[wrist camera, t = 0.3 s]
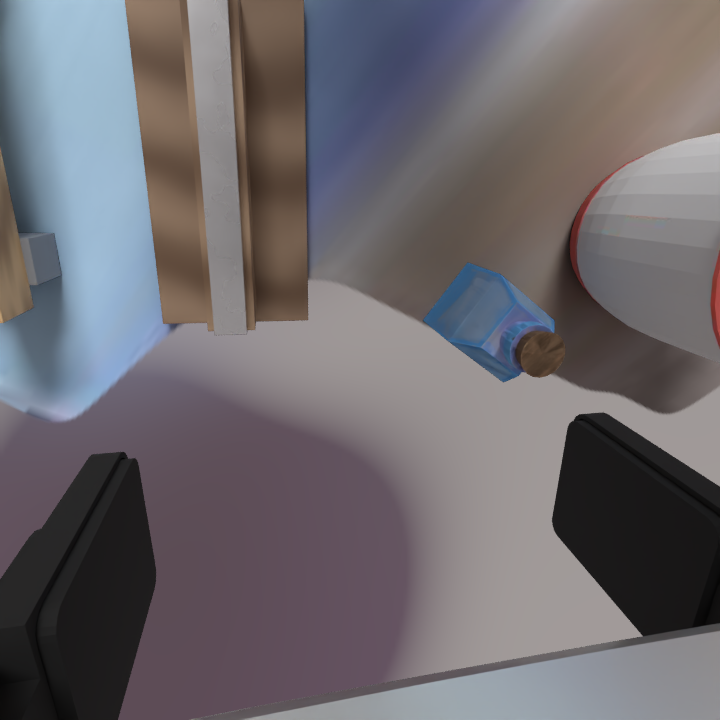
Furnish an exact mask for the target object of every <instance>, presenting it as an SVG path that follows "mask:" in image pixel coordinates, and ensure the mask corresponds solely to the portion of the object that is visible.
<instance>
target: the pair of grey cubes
mask: <svg viewBox="0 0 720 720" xmlns="http://www.w3.org/2000/svg"><path fill="white" fill-rule="evenodd" d="M18 234H19V239H20V244H21V248H22V253H23V258H24V263H25V267H26V272H27V277H28V282H29V285H39V284H42V283H44V282H46V281H49V280H51V279H54V278H56V277H58V276H61V275H62V274H61V269H60V263H59V258H58V253H57V247H56V242H55V236H54V233H18Z"/></svg>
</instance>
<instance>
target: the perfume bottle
mask: <svg viewBox="0 0 720 720" xmlns="http://www.w3.org/2000/svg"><path fill="white" fill-rule="evenodd" d="M423 321H424V322H426V323H427V324H428V325H429V326H430V327H432V328H433V329H434V330H435V331H436V332H438V333H439V334H440V335H441V336H442V337H444V338H445V339H446V340H447V341H449V342H450V343H451V344H453V345H454V346H455V347H457V348H458V349H459V350H461V351H462V352H463V353H465V354H466V355H467V356H469V357H470V358H471V359H473V360H474V361H475V362H477V363H478V364H479V365H481V366H482V367H483V368H485V369H486V370H488V371H489V372H490V373H491V374H493V375H494V376H496V377H497V378H498V379H499V380H501V381H502V382H506V381H508V380H510V379H512V378H515V377H517V376H519V375H520V373H521V372H526V373H527V374H529V375H530V376H532V377H539V378H540V377H544V376H548V375H549V374H551V373H553V372H554V371H555V370H556V369H557V368H559V366H560V364H561V363H562V361H563V359H564V356H565V345H564V342H563V340H562V339H561V337H560V336H559V335H557V334H555V333H554V325H555V321H554V320H553V319H552V318H551V317H550V316H549V315H547V314H546V313H545V312H544V311H543V310H542V309H540V308H539V307H538V306H537V305H536V304H535V303H533V302H532V301H531V300H530V299H529V298H528V297H526V296H525V295H524V294H523V293H522V292H521V291H520V290H518V289H517V288H516V287H515V286H514V285H513V284H511V283H510V282H509V281H508V280H507V279H506V278H504V277H503V276H502V275H501V274H498V273H495V272H493V271H490V270H487V269H484V268H481V267H479V266H476V265H473V264H470V263H467V264H466V265H465V267H464V268H463V269H462V271H461V272H460V273H459V274H458V276H457V277H456V278H455V280H454V281H453V282H452V283H451V285H450V286H449V287H448V289H447V290H446V291H445V292H444V294H443V295H442V296H441V298H440V299H439V300H438V302H437V303H436V304H435V305H434V307H433V308H432V309H431V311H430V312H429V313H428V314H427V316H426V317H425V318H424V320H423Z"/></svg>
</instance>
